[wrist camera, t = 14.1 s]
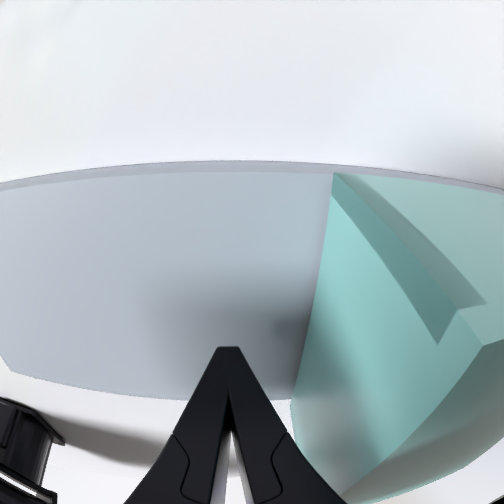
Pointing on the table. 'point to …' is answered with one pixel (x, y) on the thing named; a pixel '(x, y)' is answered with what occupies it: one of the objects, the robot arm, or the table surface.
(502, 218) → the block
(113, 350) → the grey flat rectangular block
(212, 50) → the table surface
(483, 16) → the table surface
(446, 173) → the table surface
